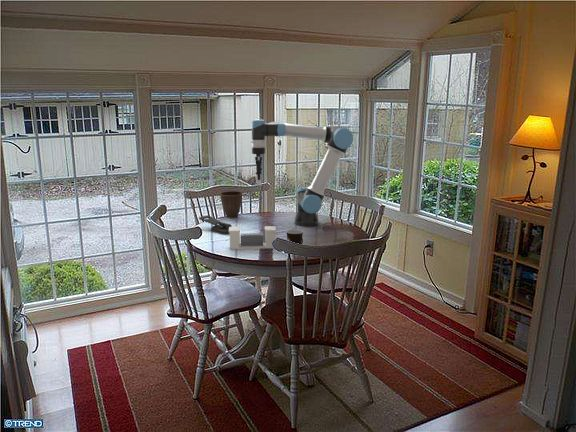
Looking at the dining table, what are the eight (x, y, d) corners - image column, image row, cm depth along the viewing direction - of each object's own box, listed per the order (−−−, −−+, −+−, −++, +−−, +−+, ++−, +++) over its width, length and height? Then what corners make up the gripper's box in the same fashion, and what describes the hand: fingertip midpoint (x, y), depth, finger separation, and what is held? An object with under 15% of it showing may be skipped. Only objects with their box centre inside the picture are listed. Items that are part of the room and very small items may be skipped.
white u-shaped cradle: (275, 243, 269) (275, 226, 266) (276, 248, 261) (275, 230, 259) (229, 244, 267) (229, 226, 265) (229, 249, 259) (228, 230, 257)
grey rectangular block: (263, 243, 266) (263, 233, 265) (263, 245, 262) (263, 235, 261) (240, 244, 265) (240, 233, 264) (240, 246, 262) (240, 235, 260)
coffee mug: (285, 247, 262) (285, 229, 260) (301, 247, 263) (301, 229, 260) (287, 254, 251) (287, 235, 248) (304, 254, 252) (304, 235, 249)
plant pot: (220, 219, 320) (220, 195, 316) (220, 214, 334) (219, 191, 330) (243, 219, 322) (243, 195, 318) (242, 213, 336) (241, 190, 333)
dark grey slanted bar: (208, 214, 306) (236, 221, 291) (208, 225, 308) (236, 232, 292) (197, 217, 299) (225, 224, 284) (197, 228, 301) (225, 235, 285)
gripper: (251, 144, 295) (252, 179, 300) (251, 149, 271) (252, 187, 276) (264, 144, 296) (264, 179, 301) (265, 149, 271) (265, 187, 277)
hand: (258, 183), depth 288 cm, fingers open, 13 cm apart
